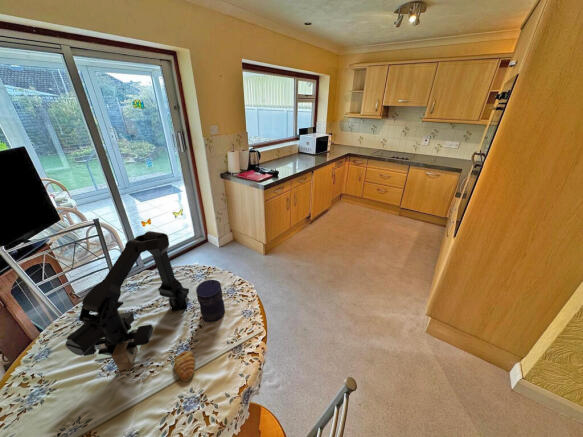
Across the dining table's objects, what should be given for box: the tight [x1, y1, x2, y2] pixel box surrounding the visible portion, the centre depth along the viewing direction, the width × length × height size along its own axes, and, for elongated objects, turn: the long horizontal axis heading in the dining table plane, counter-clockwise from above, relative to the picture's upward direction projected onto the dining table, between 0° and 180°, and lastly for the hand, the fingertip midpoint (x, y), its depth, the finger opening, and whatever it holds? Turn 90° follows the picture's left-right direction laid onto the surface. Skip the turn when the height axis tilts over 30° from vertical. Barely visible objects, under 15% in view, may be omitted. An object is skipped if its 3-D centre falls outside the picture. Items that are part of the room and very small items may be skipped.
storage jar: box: [195, 279, 226, 324], centre depth 98 cm, size 10×10×15 cm
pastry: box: [173, 350, 196, 382], centre depth 80 cm, size 9×7×4 cm
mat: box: [94, 323, 149, 361], centre depth 89 cm, size 14×12×1 cm
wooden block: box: [111, 342, 138, 371], centre depth 79 cm, size 4×7×8 cm, turn 14°
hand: (127, 354), depth 80 cm, fingers closed on wooden block, 4 cm apart
